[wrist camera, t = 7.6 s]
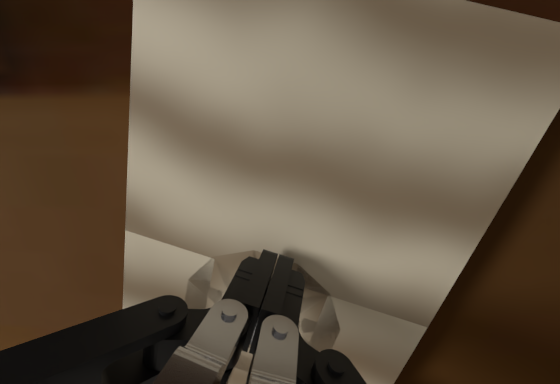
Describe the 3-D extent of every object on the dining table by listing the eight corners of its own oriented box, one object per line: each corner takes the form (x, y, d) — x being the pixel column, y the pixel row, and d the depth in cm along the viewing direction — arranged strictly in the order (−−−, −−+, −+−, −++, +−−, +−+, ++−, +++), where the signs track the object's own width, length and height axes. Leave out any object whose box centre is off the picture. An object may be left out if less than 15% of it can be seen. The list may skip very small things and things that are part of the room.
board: (172, -51, 13) (136, -77, 11) (553, 41, 12) (604, 33, 9) (144, 318, 22) (121, 347, 19) (361, 393, 20) (364, 433, 18)
